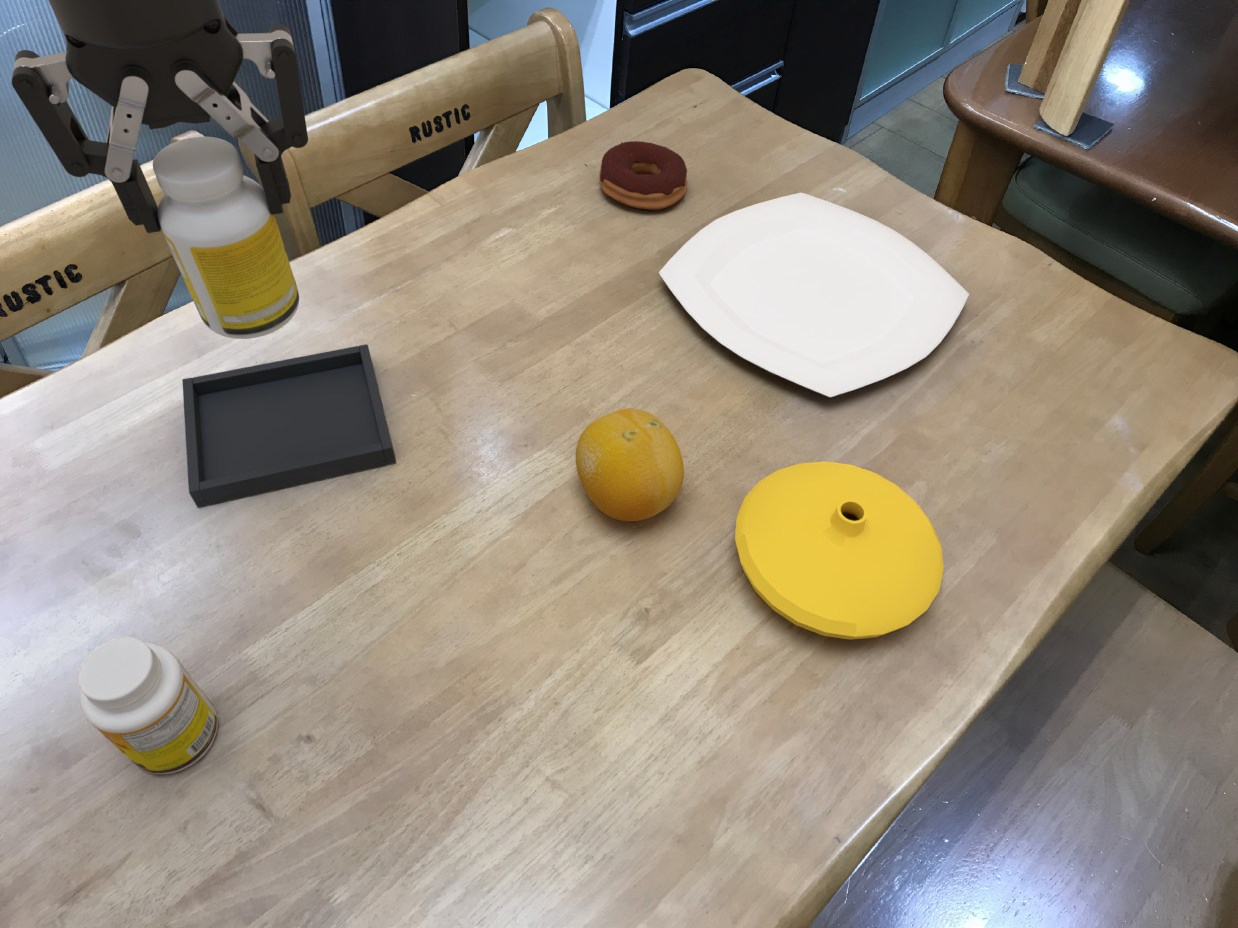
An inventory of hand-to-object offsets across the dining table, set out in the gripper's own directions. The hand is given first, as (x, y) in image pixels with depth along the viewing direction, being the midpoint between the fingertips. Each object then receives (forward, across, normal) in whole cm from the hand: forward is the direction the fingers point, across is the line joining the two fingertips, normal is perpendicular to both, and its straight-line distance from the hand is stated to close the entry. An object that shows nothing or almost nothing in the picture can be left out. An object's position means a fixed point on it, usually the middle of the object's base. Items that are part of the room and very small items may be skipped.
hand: (216, 215), depth 54 cm
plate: (+25, +50, +8) cm, 56 cm away
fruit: (+25, +24, -11) cm, 36 cm away
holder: (+24, -1, +4) cm, 25 cm away
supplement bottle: (+24, -11, -21) cm, 34 cm away
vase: (+25, +37, -22) cm, 50 cm away
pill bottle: (+8, 0, 0) cm, 8 cm away
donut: (+25, +40, +30) cm, 55 cm away
